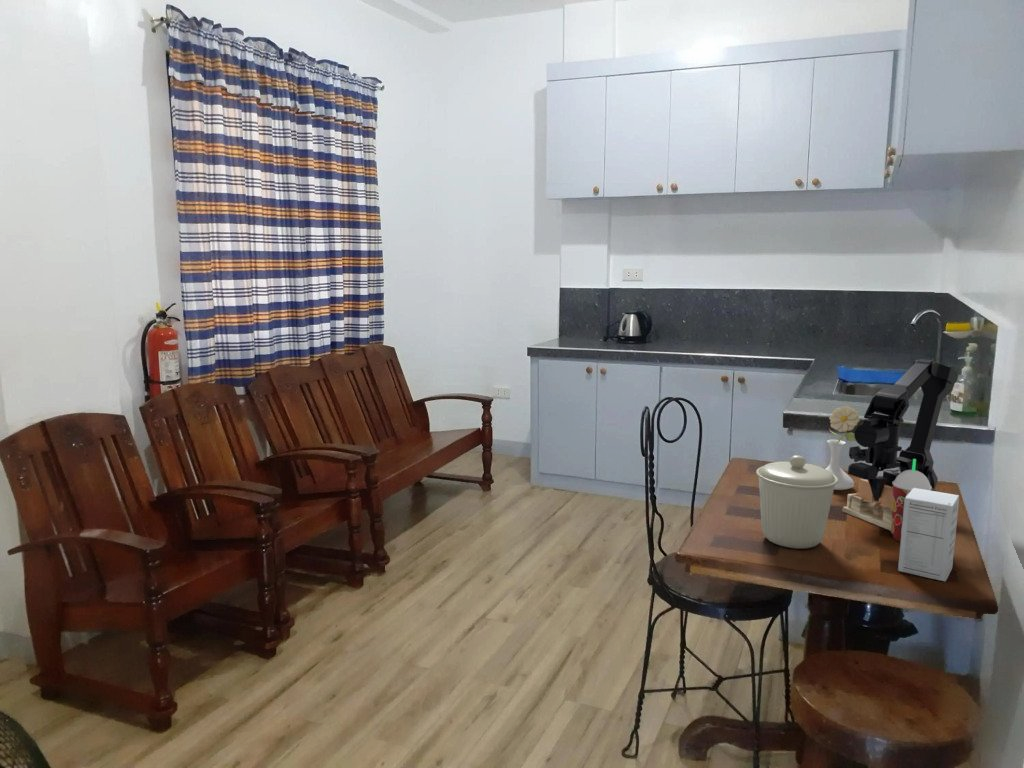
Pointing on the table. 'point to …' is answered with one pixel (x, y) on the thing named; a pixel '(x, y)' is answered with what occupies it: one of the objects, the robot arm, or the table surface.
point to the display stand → (868, 511)
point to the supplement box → (928, 533)
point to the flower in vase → (841, 443)
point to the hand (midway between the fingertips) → (880, 499)
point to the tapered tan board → (867, 495)
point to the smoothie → (901, 490)
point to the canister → (795, 502)
